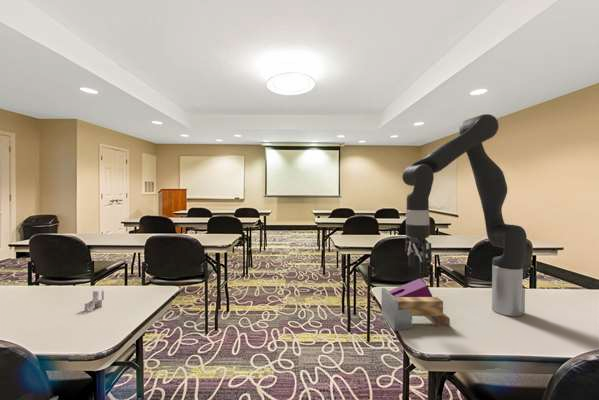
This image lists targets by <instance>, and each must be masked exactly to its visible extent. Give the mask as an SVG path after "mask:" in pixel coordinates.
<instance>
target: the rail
mask: <svg viewBox="0 0 599 400" xmlns="http://www.w3.org/2000/svg"><path fill="white" fill-rule="evenodd" d="M395 298H396V299H397V300H398V310H411V311H412V317H426V316H443V313H444V300H442V299H441V298H439V296H433V297H395Z"/></svg>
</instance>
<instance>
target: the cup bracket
mask: <svg viewBox="0 0 599 400" xmlns="http://www.w3.org/2000/svg"><path fill="white" fill-rule="evenodd" d="M389 291H390V290H388V289H386V288H385V287H384V288H383V287H382V288H381V316H382V318H383V319H384V320H385V321H386V323H387V324H388V326H390V327H391V329H392V330H393V331H394V332H399V331H400V330H412V328H413V327H412V325H413V323H412V321H413V319H412V318H413V316H412V311H411V310H398V300H397V299H396V298H395V297H394V296H393V295H392V294H391V293H390V292H389Z"/></svg>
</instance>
